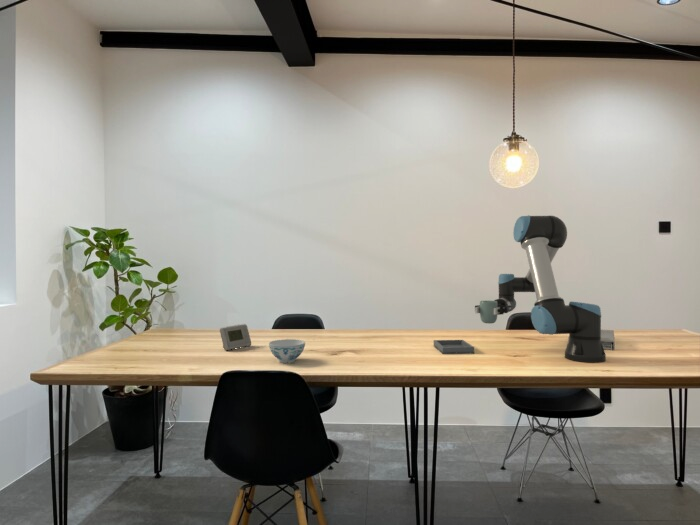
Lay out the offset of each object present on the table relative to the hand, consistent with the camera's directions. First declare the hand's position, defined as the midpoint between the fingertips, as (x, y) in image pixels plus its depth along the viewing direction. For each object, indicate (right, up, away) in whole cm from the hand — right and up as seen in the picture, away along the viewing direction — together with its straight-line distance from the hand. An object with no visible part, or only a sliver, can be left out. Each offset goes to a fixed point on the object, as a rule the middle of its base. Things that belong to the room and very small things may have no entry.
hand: (485, 311), depth 213 cm
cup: (+3, -6, +4) cm, 8 cm away
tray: (-14, -18, +2) cm, 23 cm away
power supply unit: (+57, -18, +16) cm, 62 cm away
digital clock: (-115, -19, +11) cm, 118 cm away
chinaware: (-87, -19, -18) cm, 91 cm away
